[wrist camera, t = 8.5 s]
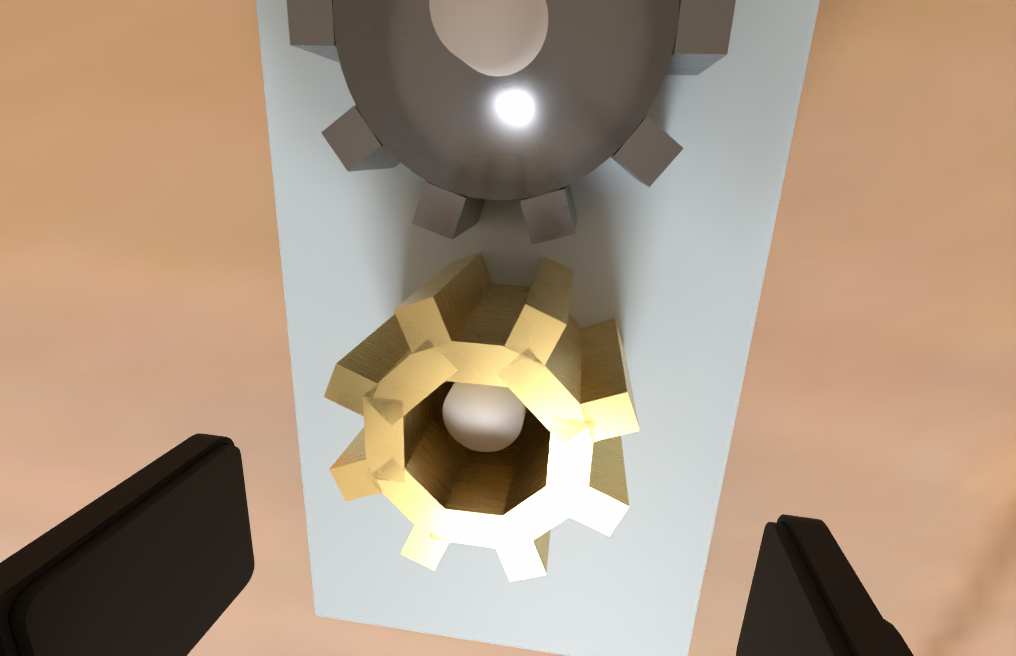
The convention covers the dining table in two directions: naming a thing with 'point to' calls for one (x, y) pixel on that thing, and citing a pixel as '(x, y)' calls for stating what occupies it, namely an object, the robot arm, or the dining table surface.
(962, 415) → the dining table surface
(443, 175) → the steel gear
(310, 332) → the board
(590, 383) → the brass gear
